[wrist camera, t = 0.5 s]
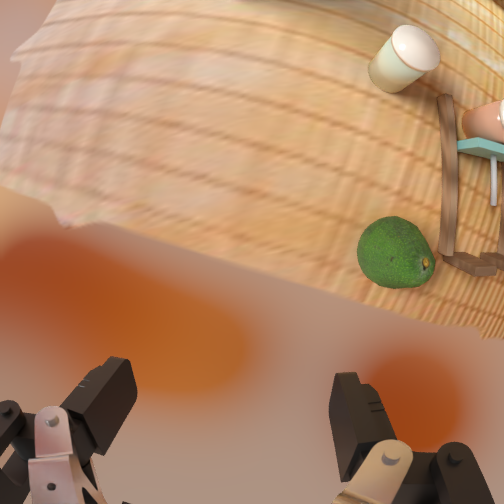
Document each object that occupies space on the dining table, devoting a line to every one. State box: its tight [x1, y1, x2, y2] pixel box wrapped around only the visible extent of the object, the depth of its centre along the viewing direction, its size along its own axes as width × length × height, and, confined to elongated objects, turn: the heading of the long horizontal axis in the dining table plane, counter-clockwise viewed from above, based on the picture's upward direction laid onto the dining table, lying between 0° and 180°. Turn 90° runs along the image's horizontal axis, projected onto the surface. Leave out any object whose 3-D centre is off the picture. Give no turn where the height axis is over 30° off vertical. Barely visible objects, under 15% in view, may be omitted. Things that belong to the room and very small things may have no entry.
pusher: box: [457, 137, 504, 206], centre depth 28 cm, size 8×11×6 cm
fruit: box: [357, 216, 435, 289], centre depth 29 cm, size 8×8×12 cm
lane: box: [437, 94, 504, 277], centre depth 28 cm, size 23×14×8 cm, turn 0°
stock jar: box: [462, 99, 504, 144], centre depth 25 cm, size 6×6×10 cm
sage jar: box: [368, 25, 440, 93], centre depth 25 cm, size 6×6×10 cm
